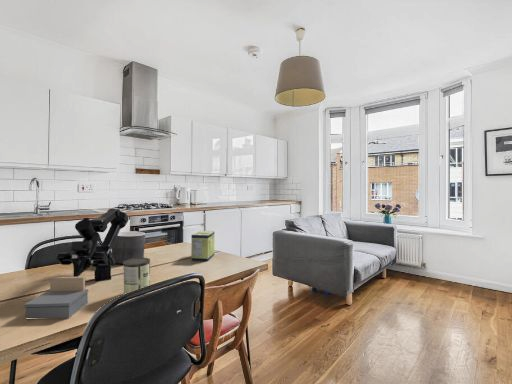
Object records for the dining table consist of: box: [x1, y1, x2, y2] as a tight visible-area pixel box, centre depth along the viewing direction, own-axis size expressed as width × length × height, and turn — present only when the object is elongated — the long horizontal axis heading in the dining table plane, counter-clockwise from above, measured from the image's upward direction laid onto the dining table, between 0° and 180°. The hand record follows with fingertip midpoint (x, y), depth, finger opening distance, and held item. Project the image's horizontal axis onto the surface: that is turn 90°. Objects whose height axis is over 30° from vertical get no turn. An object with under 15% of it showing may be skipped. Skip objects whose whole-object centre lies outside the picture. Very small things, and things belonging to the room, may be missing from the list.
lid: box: [24, 276, 89, 308], centre depth 100 cm, size 12×14×6 cm
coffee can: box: [122, 257, 151, 295], centre depth 115 cm, size 10×10×14 cm
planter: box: [111, 230, 146, 265], centre depth 164 cm, size 18×18×16 cm
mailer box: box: [24, 292, 89, 319], centre depth 100 cm, size 12×14×4 cm
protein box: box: [190, 230, 215, 262], centre depth 173 cm, size 10×16×16 cm
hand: (74, 277), depth 110 cm, fingers closed
